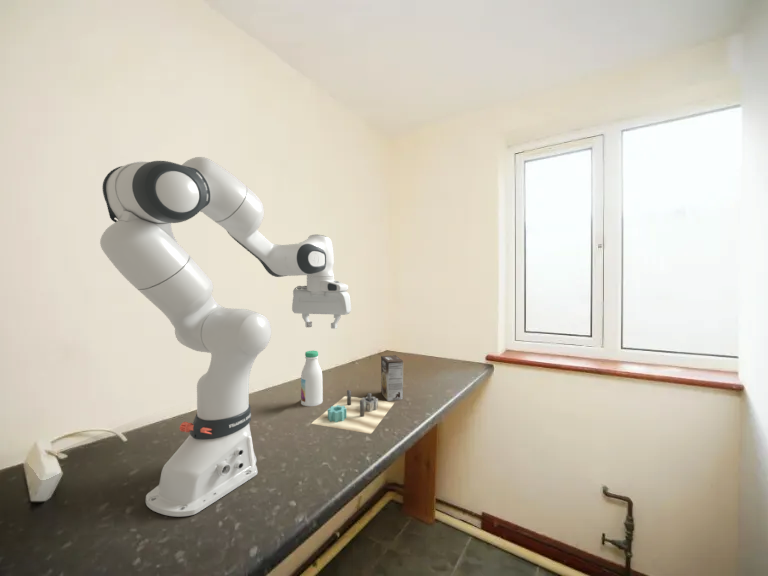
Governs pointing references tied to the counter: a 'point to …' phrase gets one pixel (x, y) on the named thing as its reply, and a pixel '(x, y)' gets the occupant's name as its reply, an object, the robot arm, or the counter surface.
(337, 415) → the teal gear
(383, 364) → the coffee box
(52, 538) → the counter surface
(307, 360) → the milk bottle
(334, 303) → the robot arm
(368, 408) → the grey gear
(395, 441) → the counter surface
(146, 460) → the counter surface
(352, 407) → the peg board
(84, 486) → the counter surface
